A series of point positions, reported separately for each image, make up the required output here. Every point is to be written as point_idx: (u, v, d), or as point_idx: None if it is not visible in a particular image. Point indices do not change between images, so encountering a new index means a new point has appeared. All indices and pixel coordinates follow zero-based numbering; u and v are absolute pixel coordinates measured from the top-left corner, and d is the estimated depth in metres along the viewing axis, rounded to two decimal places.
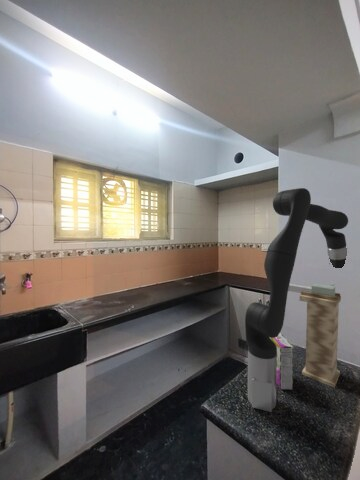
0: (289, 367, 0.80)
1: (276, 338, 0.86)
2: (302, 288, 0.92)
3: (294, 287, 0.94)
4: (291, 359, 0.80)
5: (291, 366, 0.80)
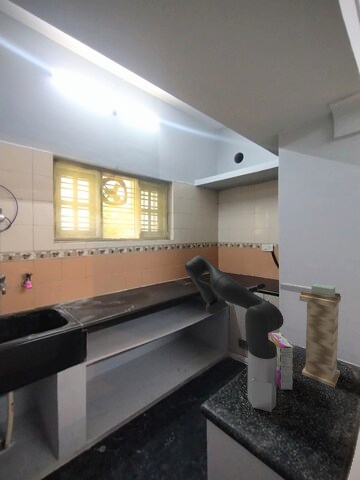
0: (289, 367, 0.80)
1: (276, 338, 0.86)
2: (302, 288, 0.92)
3: (294, 287, 0.94)
4: (291, 359, 0.80)
5: (291, 366, 0.80)
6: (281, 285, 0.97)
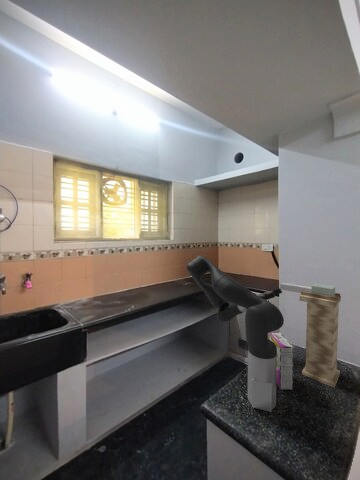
0: (289, 367, 0.80)
1: (276, 338, 0.86)
2: (302, 288, 0.92)
3: (294, 287, 0.94)
4: (291, 359, 0.80)
5: (291, 366, 0.80)
6: (281, 285, 0.97)
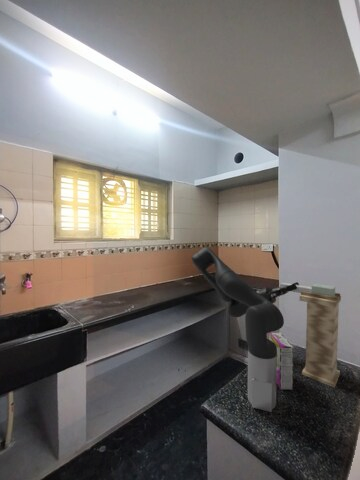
0: (289, 367, 0.80)
1: (276, 338, 0.86)
2: (302, 288, 0.92)
3: None
4: (291, 359, 0.80)
5: (291, 366, 0.80)
6: (281, 285, 0.97)
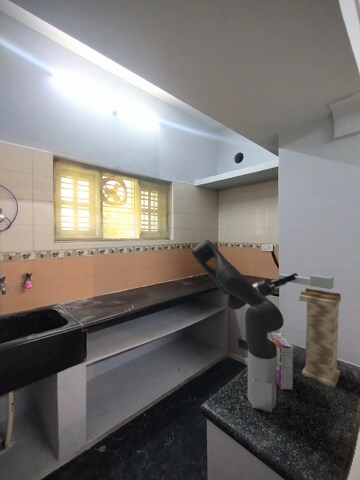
0: (289, 367, 0.80)
1: (276, 338, 0.86)
2: (300, 279, 0.92)
3: None
4: (291, 359, 0.80)
5: (291, 366, 0.80)
6: (280, 276, 0.98)
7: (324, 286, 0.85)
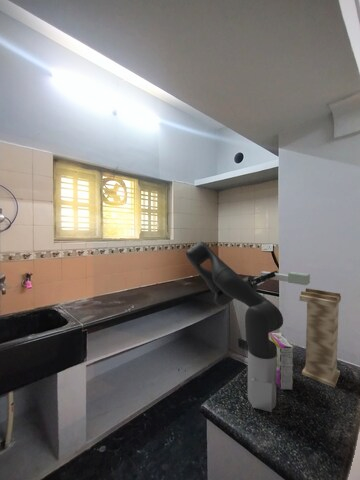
0: (289, 367, 0.80)
1: (276, 338, 0.86)
2: (280, 276, 0.98)
3: None
4: (291, 359, 0.80)
5: (291, 366, 0.80)
6: (261, 273, 1.03)
7: (300, 282, 0.91)
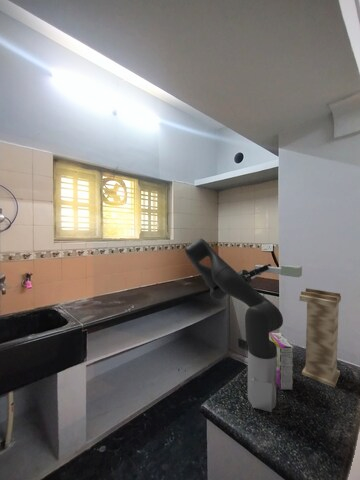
0: (289, 367, 0.80)
1: (276, 338, 0.86)
2: (273, 269, 1.00)
3: None
4: (291, 359, 0.80)
5: (291, 366, 0.80)
6: (255, 267, 1.05)
7: (292, 275, 0.93)
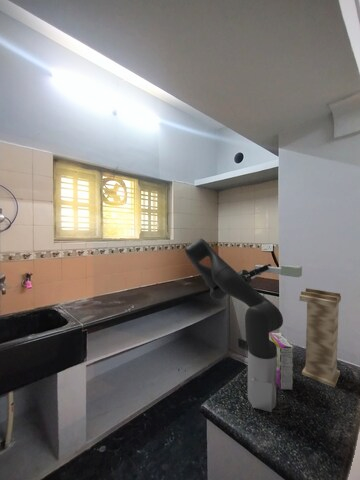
0: (289, 367, 0.80)
1: (276, 338, 0.86)
2: (273, 269, 1.00)
3: None
4: (291, 359, 0.80)
5: (291, 366, 0.80)
6: (255, 267, 1.05)
7: (292, 275, 0.93)
